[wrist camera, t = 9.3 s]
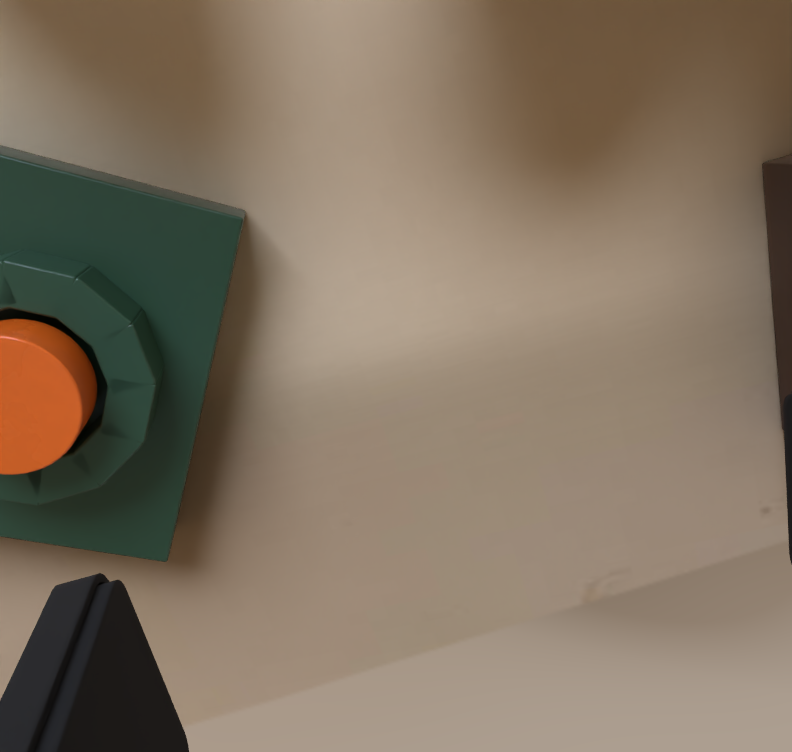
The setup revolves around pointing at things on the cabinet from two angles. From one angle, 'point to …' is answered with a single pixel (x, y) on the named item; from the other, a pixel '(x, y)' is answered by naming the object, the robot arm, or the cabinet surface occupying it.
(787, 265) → the hob panel
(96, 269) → the green push button box
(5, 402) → the button
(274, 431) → the cabinet surface
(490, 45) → the cabinet surface
